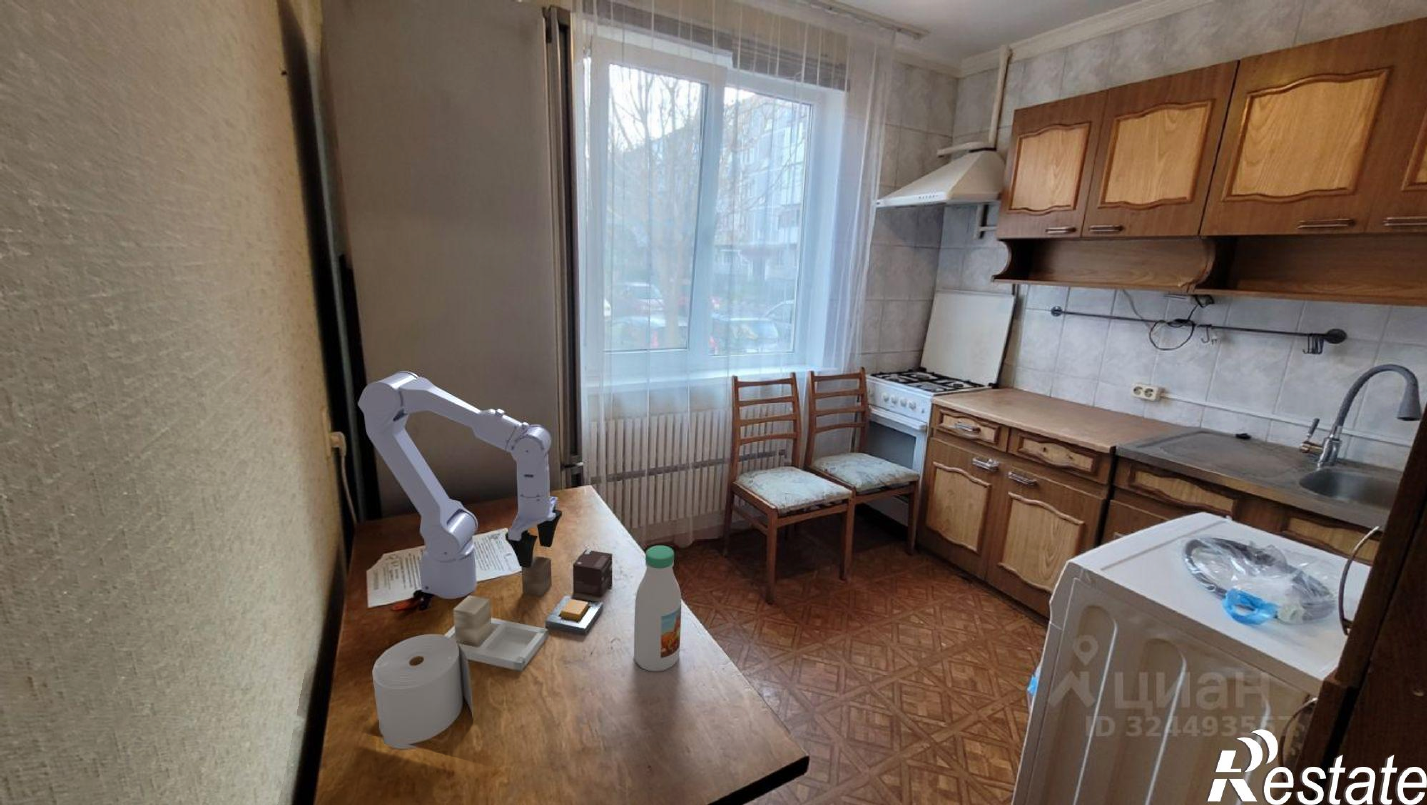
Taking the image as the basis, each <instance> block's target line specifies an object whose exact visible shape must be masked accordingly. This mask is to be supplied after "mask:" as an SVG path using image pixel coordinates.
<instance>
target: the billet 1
mask: <svg viewBox="0 0 1427 805" xmlns="http://www.w3.org/2000/svg"><path fill="white" fill-rule="evenodd" d="M465 597H466V596H465ZM452 612H453V620H454V625H455V636H456V643H459V644H464V645H468V646H473V647H477V648H479V647H480V646H481V645H482V644H483V642H484V641H485V640H486V639H487V638H488V637H489V636H490V635H491V634H492V627H491V618H492V615H491V614H492V613H491V599H489V598H484V597H480V596H474V595H469V594H468V595H467V597H466V598H464V599H463V600H462V601H461V602H459V603H458V604H457V605H456V606H455V607H454V608H453V611H452Z"/></svg>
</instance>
